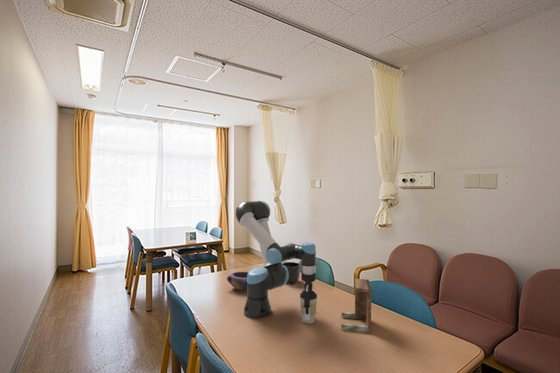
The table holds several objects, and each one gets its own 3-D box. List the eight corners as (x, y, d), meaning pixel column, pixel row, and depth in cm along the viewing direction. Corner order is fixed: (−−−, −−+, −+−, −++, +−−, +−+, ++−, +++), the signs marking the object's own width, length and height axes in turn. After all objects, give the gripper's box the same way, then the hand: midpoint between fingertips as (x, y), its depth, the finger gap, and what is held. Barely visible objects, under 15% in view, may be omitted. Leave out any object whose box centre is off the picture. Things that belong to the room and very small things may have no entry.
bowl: (261, 286, 196) (261, 272, 196) (244, 295, 181) (244, 279, 181) (241, 282, 206) (241, 268, 206) (224, 289, 191) (224, 275, 191)
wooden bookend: (341, 329, 137) (341, 286, 137) (341, 316, 151) (341, 277, 151) (371, 333, 134) (371, 289, 134) (368, 319, 148) (368, 279, 148)
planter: (300, 285, 199) (300, 267, 199) (281, 285, 199) (281, 267, 199) (299, 278, 213) (299, 262, 213) (281, 278, 213) (281, 261, 213)
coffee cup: (316, 325, 142) (316, 295, 142) (298, 323, 144) (298, 294, 144) (317, 317, 151) (317, 289, 151) (300, 315, 152) (301, 287, 152)
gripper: (313, 279, 136) (313, 326, 136) (317, 267, 157) (317, 307, 157) (298, 278, 138) (298, 324, 138) (304, 266, 158) (304, 306, 158)
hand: (308, 315), depth 147 cm, fingers closed on coffee cup, 8 cm apart
